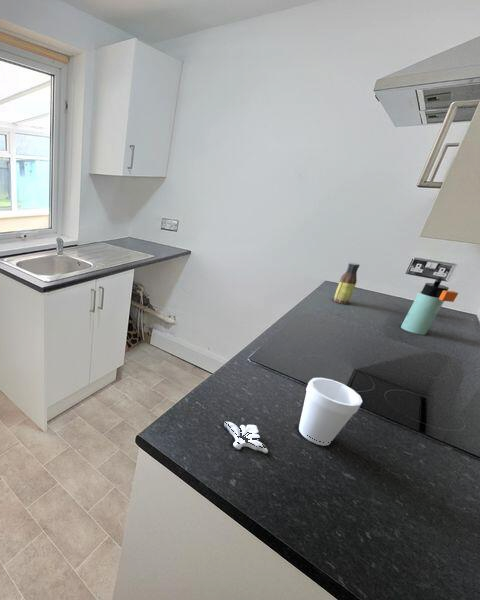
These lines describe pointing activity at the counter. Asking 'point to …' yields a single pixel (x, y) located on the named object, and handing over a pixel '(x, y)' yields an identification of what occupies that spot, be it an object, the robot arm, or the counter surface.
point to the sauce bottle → (346, 284)
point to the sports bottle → (424, 308)
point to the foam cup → (327, 409)
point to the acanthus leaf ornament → (246, 429)
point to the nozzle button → (448, 296)
